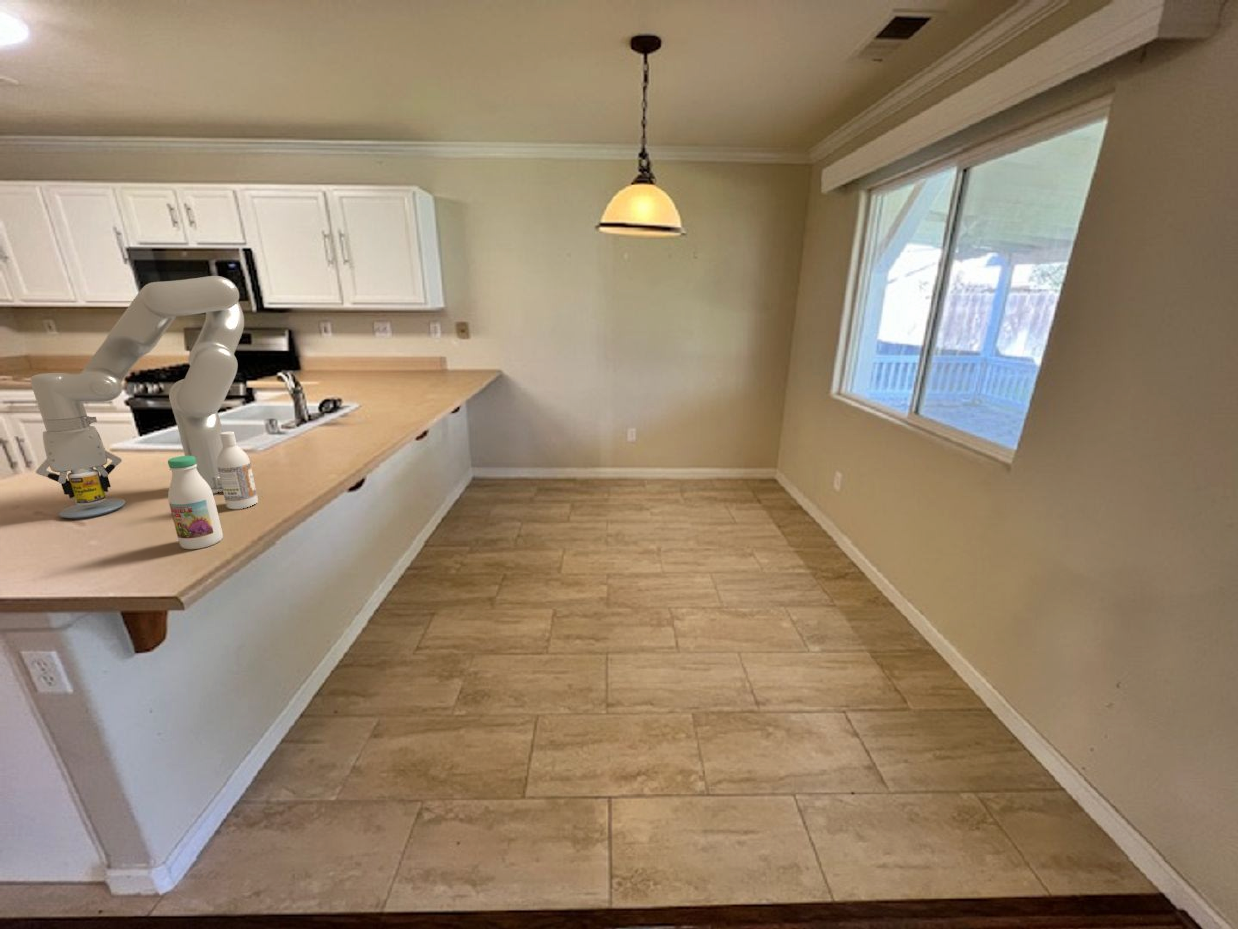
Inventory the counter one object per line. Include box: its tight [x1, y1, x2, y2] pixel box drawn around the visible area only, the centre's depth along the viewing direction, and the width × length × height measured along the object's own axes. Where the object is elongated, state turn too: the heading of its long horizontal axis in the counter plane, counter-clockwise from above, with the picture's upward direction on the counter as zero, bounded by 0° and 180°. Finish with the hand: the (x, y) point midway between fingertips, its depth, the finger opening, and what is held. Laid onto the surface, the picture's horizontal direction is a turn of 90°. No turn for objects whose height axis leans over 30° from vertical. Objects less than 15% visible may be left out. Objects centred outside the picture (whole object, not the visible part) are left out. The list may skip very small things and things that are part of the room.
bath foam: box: [217, 431, 259, 510], centre depth 135 cm, size 7×7×20 cm
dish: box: [58, 497, 126, 520], centre depth 132 cm, size 12×12×1 cm
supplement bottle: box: [67, 468, 107, 505], centre depth 130 cm, size 6×6×10 cm
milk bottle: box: [167, 455, 224, 550], centre depth 113 cm, size 8×8×20 cm
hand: (89, 492), depth 131 cm, fingers closed on supplement bottle, 5 cm apart
